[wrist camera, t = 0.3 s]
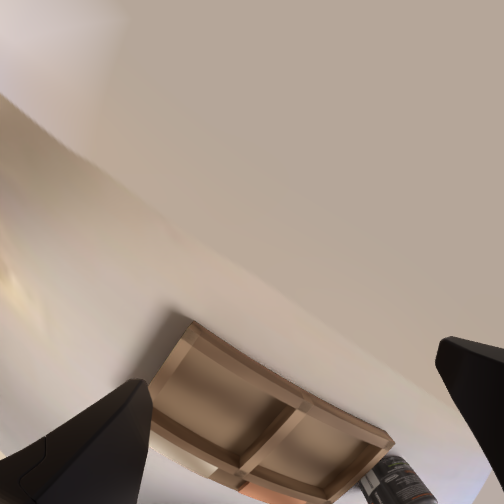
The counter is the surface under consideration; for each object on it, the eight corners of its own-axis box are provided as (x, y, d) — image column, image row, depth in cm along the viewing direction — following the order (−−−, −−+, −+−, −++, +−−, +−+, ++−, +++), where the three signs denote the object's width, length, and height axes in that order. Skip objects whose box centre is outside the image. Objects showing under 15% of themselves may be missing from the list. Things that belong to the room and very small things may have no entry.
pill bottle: (348, 483, 22) (380, 552, 11) (389, 448, 23) (437, 511, 11) (376, 495, 22) (409, 554, 11) (413, 464, 22) (458, 517, 11)
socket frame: (305, 507, 22) (309, 521, 20) (125, 421, 22) (116, 433, 20) (385, 431, 23) (395, 443, 20) (193, 320, 23) (187, 327, 20)
